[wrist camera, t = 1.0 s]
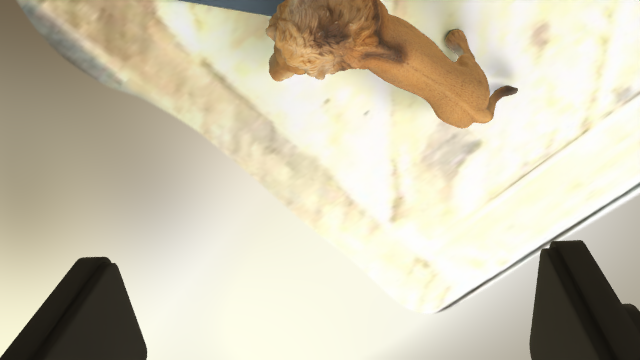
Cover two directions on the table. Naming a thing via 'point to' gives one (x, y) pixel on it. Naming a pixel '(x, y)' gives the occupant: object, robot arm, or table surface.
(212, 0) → the panel
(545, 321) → the robot arm
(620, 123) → the table surface
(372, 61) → the lion figurine
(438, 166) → the table surface
